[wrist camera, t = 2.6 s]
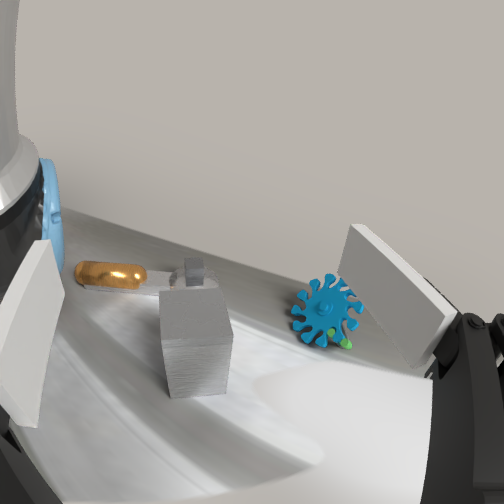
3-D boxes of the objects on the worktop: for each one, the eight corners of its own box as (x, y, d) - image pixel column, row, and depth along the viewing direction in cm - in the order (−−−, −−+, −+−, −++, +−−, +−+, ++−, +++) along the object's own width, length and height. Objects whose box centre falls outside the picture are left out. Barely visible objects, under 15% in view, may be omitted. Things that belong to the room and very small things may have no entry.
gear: (280, 296, 42) (341, 257, 40) (299, 311, 46) (355, 277, 43) (304, 366, 35) (377, 325, 32) (323, 374, 39) (388, 338, 36)
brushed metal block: (170, 398, 29) (160, 340, 23) (166, 354, 34) (159, 290, 28) (226, 393, 31) (233, 334, 25) (216, 351, 35) (221, 287, 30)
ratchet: (70, 296, 38) (61, 269, 35) (85, 267, 44) (79, 241, 41) (217, 309, 41) (219, 281, 38) (218, 277, 47) (220, 250, 44)
